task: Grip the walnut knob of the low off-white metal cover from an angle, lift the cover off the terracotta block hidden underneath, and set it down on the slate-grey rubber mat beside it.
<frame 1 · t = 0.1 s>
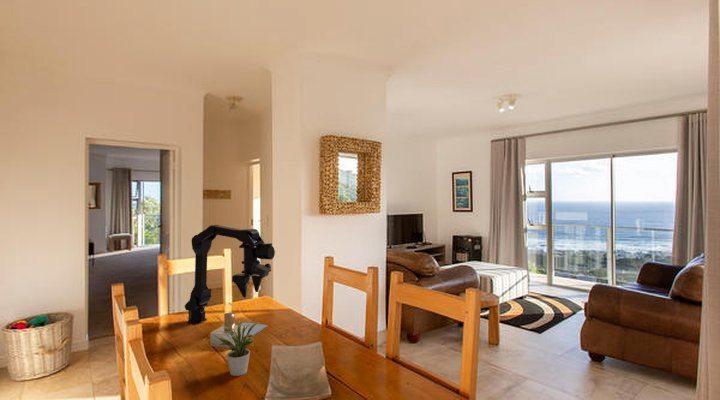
hand: (250, 294, 162), 15 cm above the table, tool pointing down, fingers open, 9 cm apart
mat: (247, 329, 161), on the table
house plant: (241, 370, 124), on the table
cover: (229, 342, 147), on the table
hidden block: (229, 337, 147), in the cover
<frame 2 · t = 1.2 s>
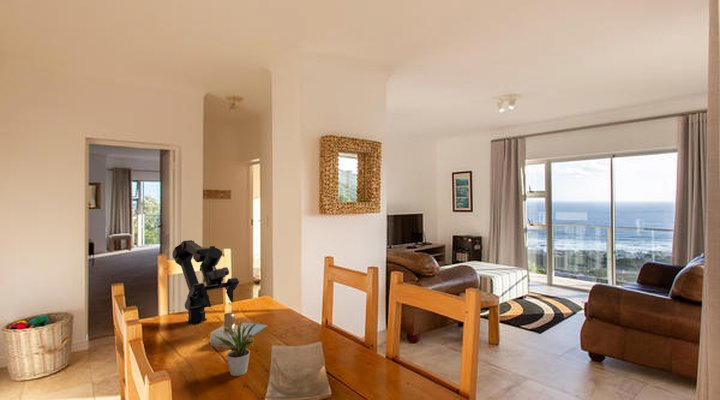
hand: (221, 304, 152), 13 cm above the table, tool tilted 45°, fingers open, 9 cm apart
nothing on the table moved.
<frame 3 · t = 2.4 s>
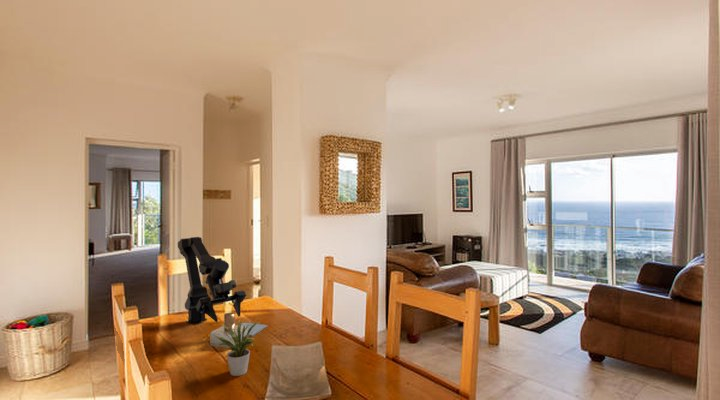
hand: (228, 318, 147), 9 cm above the table, tool tilted 45°, fingers open, 9 cm apart
nothing on the table moved.
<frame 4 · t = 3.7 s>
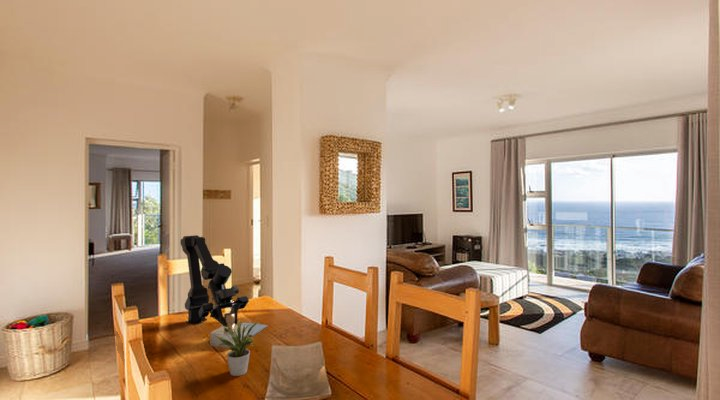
hand: (231, 325, 146), 7 cm above the table, tool tilted 45°, fingers closed on cover, 4 cm apart
cover: (229, 342, 147), on the table, touching gripper
everything else where it was.
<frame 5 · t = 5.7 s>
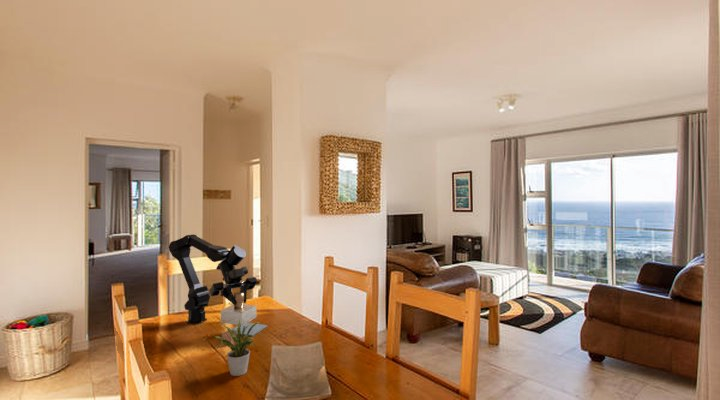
hand: (240, 303, 153), 13 cm above the table, tool tilted 45°, fingers closed on cover, 4 cm apart
cover: (238, 320, 154), point 6 cm above the table, touching gripper
everything else where it was.
when the fingers open (9 cm above the table, at t = 7.7 s): cover drops 1 cm, resting on mat.
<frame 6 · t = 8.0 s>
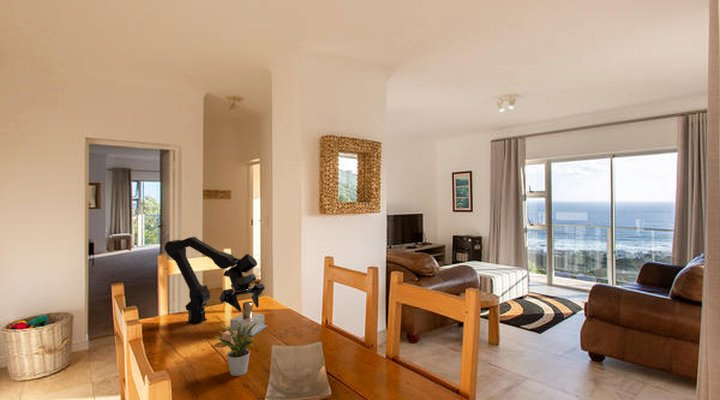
hand: (249, 309, 160), 9 cm above the table, tool tilted 45°, fingers open, 8 cm apart
cover: (247, 328, 161), resting on mat
everything else where it was.
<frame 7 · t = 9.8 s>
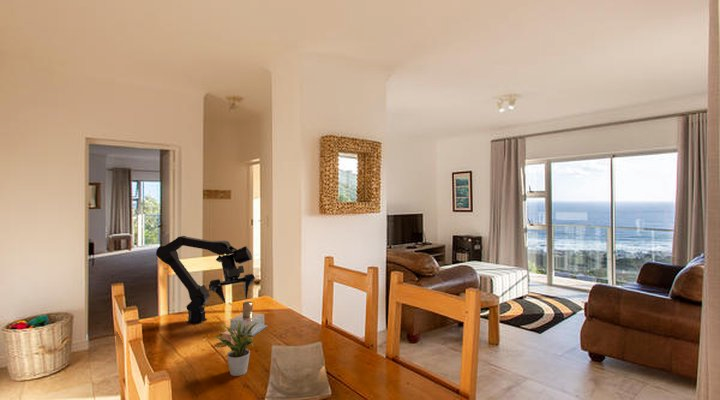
hand: (235, 300, 163), 12 cm above the table, tool tilted 35°, fingers open, 9 cm apart
nothing on the table moved.
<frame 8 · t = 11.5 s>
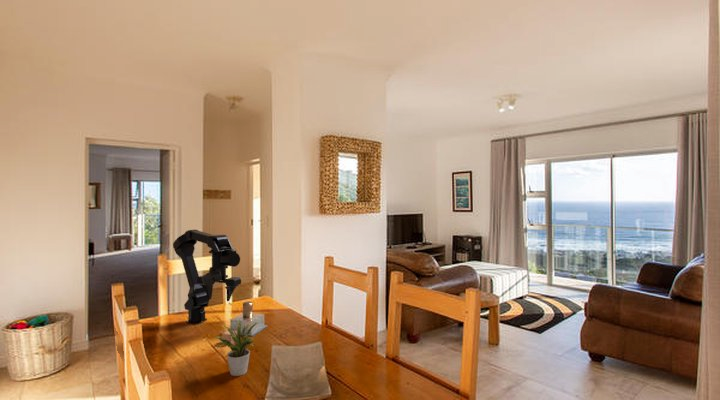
hand: (218, 300, 162), 12 cm above the table, tool pointing down, fingers open, 9 cm apart
nothing on the table moved.
at the end: cover inside the target area (0.0 cm from its centre), point 0.5 cm above the table; cover tilted 0°; the gripper is holding nothing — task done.
